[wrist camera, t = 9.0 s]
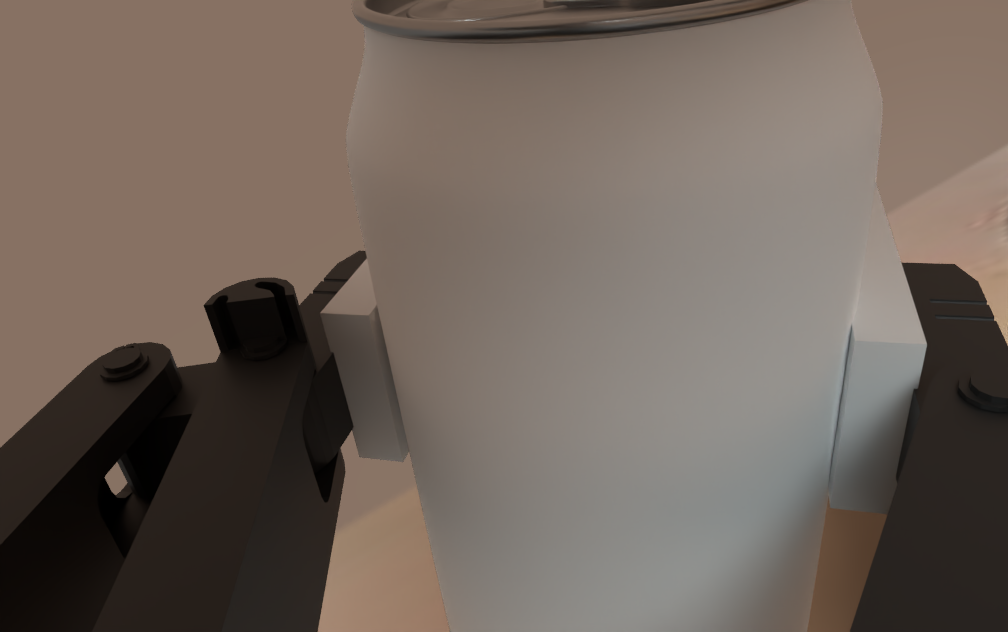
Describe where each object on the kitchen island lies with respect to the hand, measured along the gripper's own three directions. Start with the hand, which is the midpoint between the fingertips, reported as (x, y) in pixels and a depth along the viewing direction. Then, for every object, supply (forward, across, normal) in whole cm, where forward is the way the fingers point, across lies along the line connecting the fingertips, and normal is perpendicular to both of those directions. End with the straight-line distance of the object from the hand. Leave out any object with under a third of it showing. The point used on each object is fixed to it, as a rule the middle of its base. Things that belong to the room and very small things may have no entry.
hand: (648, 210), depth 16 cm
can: (-5, 0, -7) cm, 8 cm away
